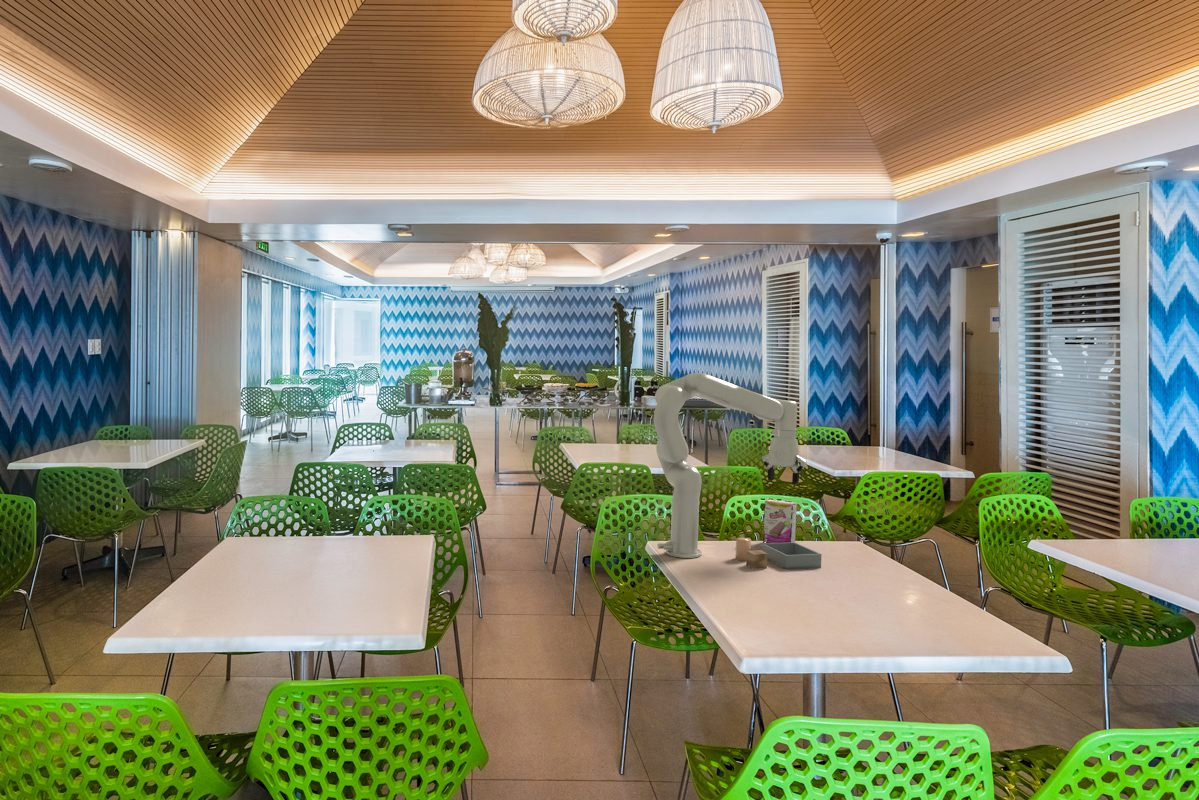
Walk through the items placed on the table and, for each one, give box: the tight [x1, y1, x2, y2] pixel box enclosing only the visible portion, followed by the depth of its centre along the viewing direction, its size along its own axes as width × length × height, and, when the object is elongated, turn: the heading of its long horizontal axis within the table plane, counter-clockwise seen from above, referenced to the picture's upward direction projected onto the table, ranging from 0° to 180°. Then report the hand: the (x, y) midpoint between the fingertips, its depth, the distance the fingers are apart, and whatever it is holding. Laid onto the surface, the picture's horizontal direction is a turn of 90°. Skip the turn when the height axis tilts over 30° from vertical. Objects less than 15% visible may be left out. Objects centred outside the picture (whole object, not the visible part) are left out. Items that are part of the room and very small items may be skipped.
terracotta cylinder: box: [735, 537, 752, 562], centre depth 262 cm, size 5×5×7 cm
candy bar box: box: [762, 499, 798, 543], centre depth 286 cm, size 11×5×16 cm, turn 58°
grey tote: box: [760, 541, 822, 570], centre depth 261 cm, size 13×17×4 cm
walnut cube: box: [745, 549, 768, 570], centre depth 253 cm, size 5×5×5 cm
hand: (782, 481), depth 273 cm, fingers open, 9 cm apart
